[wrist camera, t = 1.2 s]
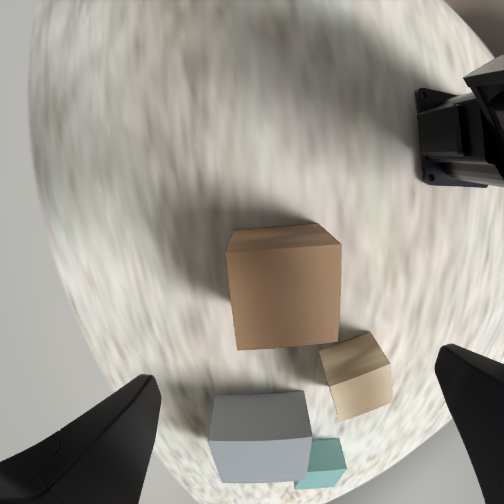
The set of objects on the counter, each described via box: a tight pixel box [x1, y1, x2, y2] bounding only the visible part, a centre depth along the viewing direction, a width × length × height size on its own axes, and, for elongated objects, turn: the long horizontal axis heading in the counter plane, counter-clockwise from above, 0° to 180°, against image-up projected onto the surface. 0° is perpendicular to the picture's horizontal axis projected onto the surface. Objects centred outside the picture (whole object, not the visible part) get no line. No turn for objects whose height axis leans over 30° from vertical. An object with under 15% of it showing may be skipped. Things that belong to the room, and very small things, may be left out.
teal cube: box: [294, 438, 347, 490], centre depth 21 cm, size 4×4×4 cm
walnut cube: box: [225, 224, 341, 350], centre depth 15 cm, size 5×5×5 cm
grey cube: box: [208, 391, 312, 483], centre depth 19 cm, size 7×7×5 cm
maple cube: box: [319, 332, 393, 422], centre depth 18 cm, size 4×4×4 cm
